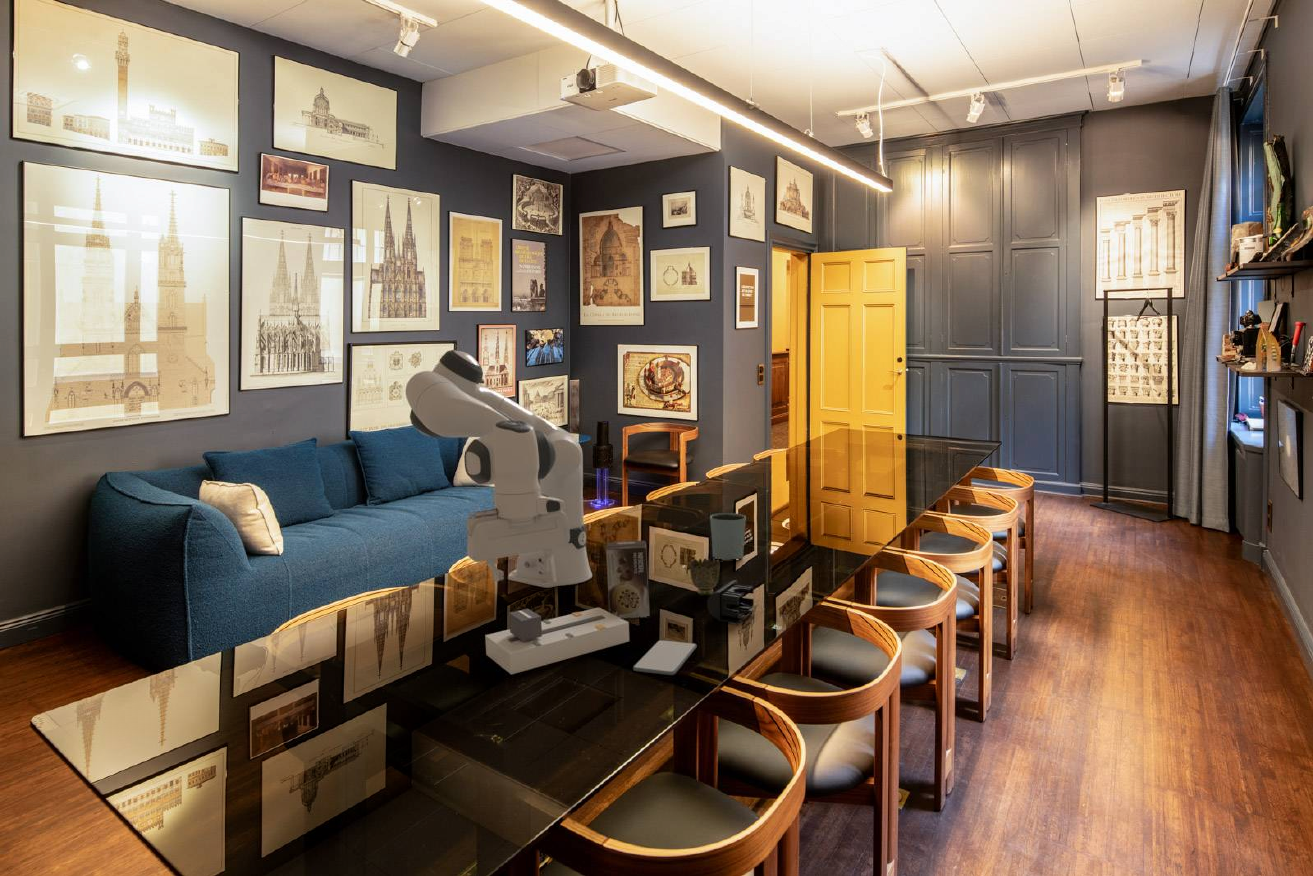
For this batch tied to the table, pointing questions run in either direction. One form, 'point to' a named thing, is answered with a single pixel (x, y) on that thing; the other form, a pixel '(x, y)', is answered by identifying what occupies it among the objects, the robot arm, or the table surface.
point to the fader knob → (525, 624)
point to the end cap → (731, 602)
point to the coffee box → (627, 579)
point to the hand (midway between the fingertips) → (521, 575)
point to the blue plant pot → (727, 535)
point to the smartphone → (665, 657)
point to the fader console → (558, 640)
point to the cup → (704, 575)
